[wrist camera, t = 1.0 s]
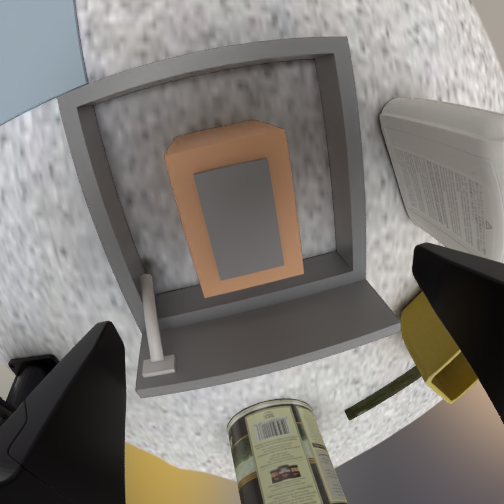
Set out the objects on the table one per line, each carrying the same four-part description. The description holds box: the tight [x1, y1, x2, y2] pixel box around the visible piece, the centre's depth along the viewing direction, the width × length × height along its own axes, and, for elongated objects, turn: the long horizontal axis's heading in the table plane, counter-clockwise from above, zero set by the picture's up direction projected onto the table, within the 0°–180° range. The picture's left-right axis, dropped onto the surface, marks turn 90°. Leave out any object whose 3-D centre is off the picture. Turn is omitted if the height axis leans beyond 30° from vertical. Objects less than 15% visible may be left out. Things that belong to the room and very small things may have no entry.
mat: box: [0, 0, 88, 125], centre depth 12 cm, size 10×11×1 cm
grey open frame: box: [57, 37, 401, 398], centre depth 17 cm, size 16×17×8 cm
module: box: [164, 120, 304, 298], centre depth 17 cm, size 5×7×7 cm
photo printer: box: [379, 98, 504, 263], centre depth 16 cm, size 10×4×12 cm, turn 28°
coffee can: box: [227, 399, 348, 504], centre depth 27 cm, size 10×10×14 cm
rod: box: [345, 366, 421, 420], centre depth 32 cm, size 31×1×2 cm, turn 122°
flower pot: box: [401, 291, 479, 404], centre depth 25 cm, size 9×9×9 cm
